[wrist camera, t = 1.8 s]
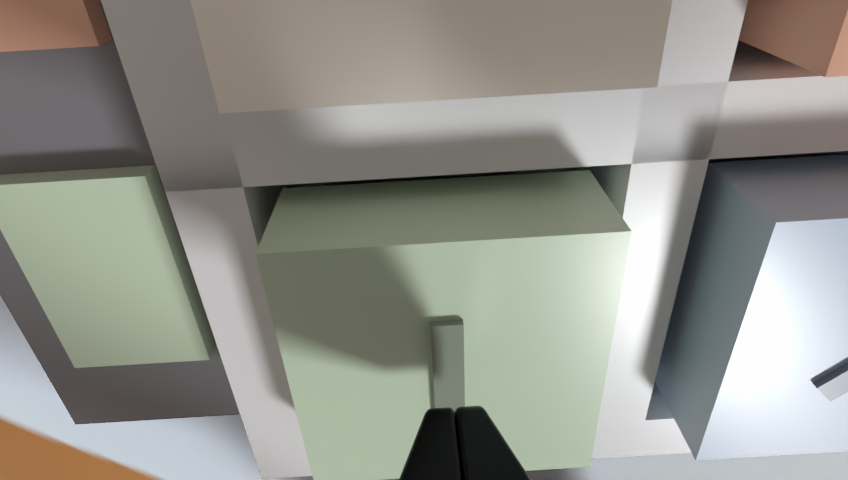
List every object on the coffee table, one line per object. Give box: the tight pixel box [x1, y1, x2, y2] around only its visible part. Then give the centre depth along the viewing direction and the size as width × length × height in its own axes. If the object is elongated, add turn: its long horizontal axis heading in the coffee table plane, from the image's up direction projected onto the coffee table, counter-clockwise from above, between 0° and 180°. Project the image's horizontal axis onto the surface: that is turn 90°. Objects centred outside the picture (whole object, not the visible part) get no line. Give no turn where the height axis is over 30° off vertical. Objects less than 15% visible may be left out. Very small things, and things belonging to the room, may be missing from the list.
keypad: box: [0, 0, 848, 479], centre depth 10 cm, size 17×22×6 cm
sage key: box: [256, 170, 632, 480], centre depth 10 cm, size 5×5×2 cm
